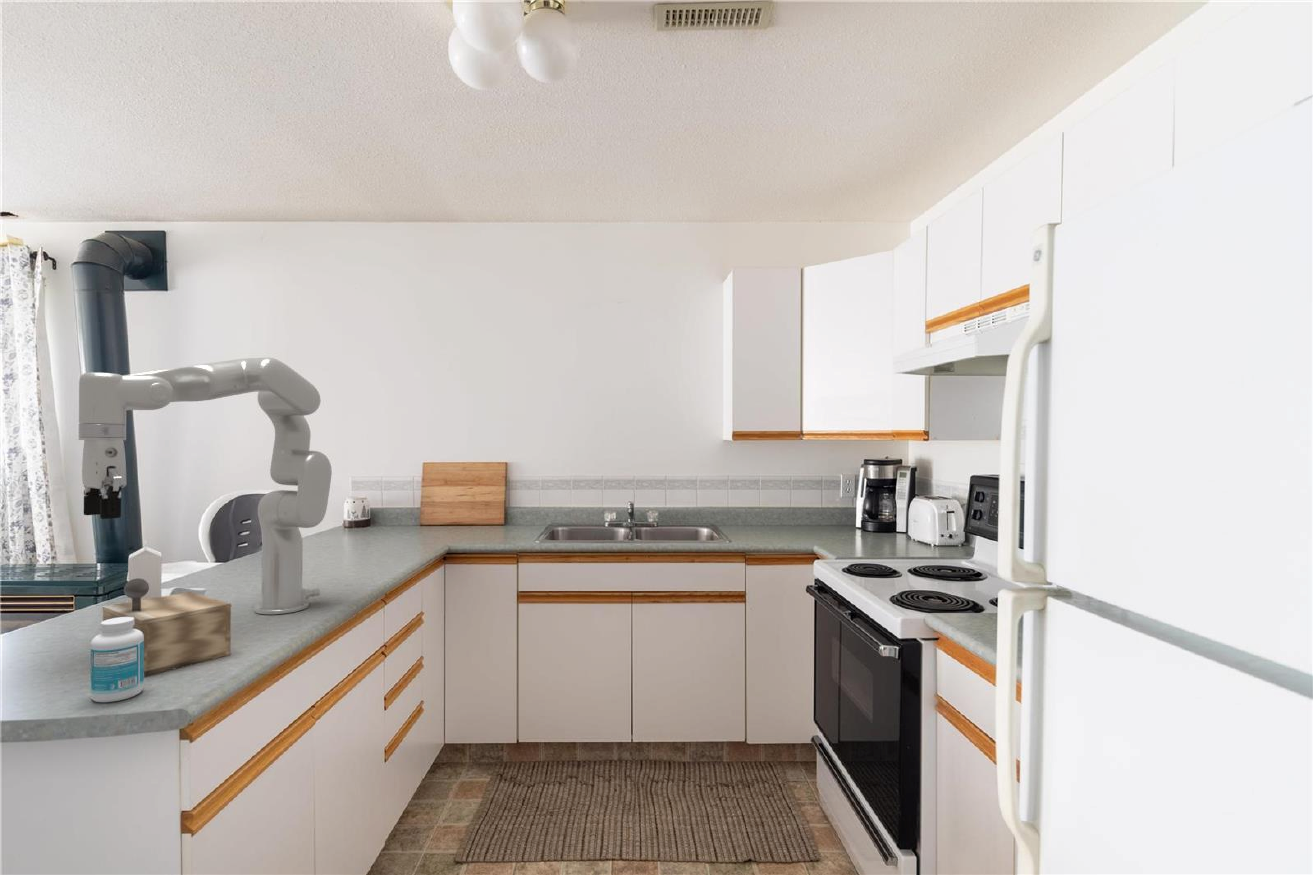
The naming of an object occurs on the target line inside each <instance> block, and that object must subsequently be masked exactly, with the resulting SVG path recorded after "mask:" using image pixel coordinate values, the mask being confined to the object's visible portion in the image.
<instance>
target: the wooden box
mask: <svg viewBox="0 0 1313 875" xmlns="http://www.w3.org/2000/svg"><path fill="white" fill-rule="evenodd" d="M231 612H232V606H231V607H230V608H225V609H220V610H215V611H210V612H205V613H199V614H194V615H189V616H184V617H179V618H174V619H169V620H164V621H159V622H154V623H149V624H144V625H140V624H137V623H135V622H134V623H135V624H134V626H133V629H137V630H140V631H141V632H142V633H143V635H144V678H145V677H148V676H153V675H155V673H156V674H160V673H164V672H168V671H171V670H170V669H172V670H174V669H173V668H176V669H179V667H180V668H183V667H182V666H184V667H187V666H186V665H188V666H190V665H189V664H192V665H195V664H199V662H200V663H203V661H204V662H206V661H207V660H208V661H211V660H210V659H212V660H215V659H218V658H222V657H223V658H224V657H227V656H230V655H231V625H232V624H231V620H232V617H231V616H232V613H231ZM112 618H118V616H116V615H113V614H110V613H108V612H105V611H103V610H102V621H105V620H108V619H112ZM152 674H153V675H152Z"/></svg>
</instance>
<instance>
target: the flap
mask: <svg viewBox="0 0 1313 875" xmlns="http://www.w3.org/2000/svg"><path fill="white" fill-rule="evenodd" d="M148 590H149V584H148V583H147V581H145V580H144V579H140V578H137V579H132V580H130V581H129V582H128V581H127V582H126V583H125V585H124V587H123V593H124V595H125V596H126V597H127V598H128V597H129V598H132V602H128V601H127V602H123V603H114V604H108V605H103V606H102V612H103V611H105V612H108V613H110V614H113V615H116V616H118V617H133V618H134V622H135V623H137V624H140V625H144V624H149V623H154V622H159V621H164V620H169V619H174V618H179V617H184V616H189V615H194V614H199V613H205V612H210V611H215V610H220V609H225V608H230V607H231V608H232V603H231V602H227V601H224V600H220V599H217V598H213V597H210V596H206V595H199V594H196V593H192V592H186V593H181V594H175V595H169V596H163V597H157V598H151V599H146V600H141V597H143V596H144V595H146V594H147V592H148Z"/></svg>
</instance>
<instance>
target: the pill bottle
mask: <svg viewBox="0 0 1313 875" xmlns="http://www.w3.org/2000/svg"><path fill="white" fill-rule="evenodd" d="M134 624H135V623H134V618H133V617H118V618H112V619H108V620H105V621H103V620H102V621H101V622H100V631H101V632H100V633H99V634H97V635H96V636H94V637H93V638H92V640H91V641H90V698H91V700H92V701H93V702H96V703H113V702H119V701H124V700H126V699H131V698H132V697H135V696H137V695H138V694H140V693H141V692H142V691H143V690H144V688H145V677H144V635H143V633H142V632H141V631H140V630H137V629H133V626H134Z"/></svg>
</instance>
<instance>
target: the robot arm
mask: <svg viewBox="0 0 1313 875" xmlns="http://www.w3.org/2000/svg"><path fill="white" fill-rule="evenodd" d="M78 382H79V383H78V441H83V449H82V464H81V465H82V466H81V472H82V473H81V476H82V485H83V488H84V490H83V515H84V516H97V515H100V516H99V519H101V520H108V519H110V520H111V519H119V518H121V516H122V492H121V490H122V489H123V488H125V487H126V486H127V464H126V462H127V461H126V449H125V443H124V441H127V411H155V410H159V409H162V408H165V407H167V406H168V405H169V404H170V403H176V402H178V403H179V402H203V401H210V400H211V401H212V400H216V399H222V398H227V397H232V396H239V395H242V394H248V393H255V392H258V393H257V403H258V406H259V408H260V409H261V410H262V411H263V412H264V414H266V416H267V417H268V418H269V419H270V422H271V423H272V425H273V428H274V442H273V448H272V449H273V450H272V456H271V463H270V468H269V469H270V470H269V472H270V477H271V479H272V480H273V482H275V484H278V485H283V486H290V487H291V486H293V487H297V490H285V489H284V490H283V489H281V490H280V489H279V490H273V491H270V492H268V493H266V494H265V495H264V496H262V497H261V499H260V500H259V503H258V505H257V517H258V520H259V525H260V532H261V589H260V590H261V596H260V598H261V603H259V604H256V605H255V606H254V612H255V613H256V614H259V615H283V614H289V613H295V612H299V611H302V610H306V609H307V608H309V600H308V599H309V598H310V597H311V598H313V597H318V596H320V594H321V590H320V589H319V588H313V589H311V590H310V589H305V588H303V551H304V550H303V549H304V548H303V547H304V545H303V537H302V533H301V531H300V529H299V528H301V529H302V528H303V529H309V528H314V527H317V526H318V525H320V524H321V522H323V520H324V518H325V516H326V514H327V510H328V509H327V508H328V503H329V496H330V489H331V484H332V482H331V481H332V474H333V472H332V465H331V462H330V459H329V458H328V456H327V455H325V454H324V453H323V452H321V451H318V450H310V448H311V447H310V446H311V428H310V425H309V423H308V421H307V419H306V417H305V416H309V415H310V416H311V415H312V414H314V413H316V411H317V410H318V409H319V408H320V405H321V395H320V393H319V391H318V389H317V388H316V386H314V384H312V383H311V382H310V381H308V380H307V379H306V378H304V377H303V376H302V375H301V374H299V373H298V372H297V371H295V369H293V368H291V367H290V366H288V365H287V364H286V363H284V362H283V361H280V360H278V359H276V358H273V357H250V358H239V359H231V360H224V361H217V362H209V363H208V362H207V363H202V364H193V365H186V366H181V367H176V368H169V369H162V370H160V369H159V370H155V371H154V370H153V371H146V372H139V373H132V374H122V375H121V374H119V373H111V372H92V371H91V372H90V371H89V372H85V373H82V374H81V375H80V377H79V381H78Z"/></svg>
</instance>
